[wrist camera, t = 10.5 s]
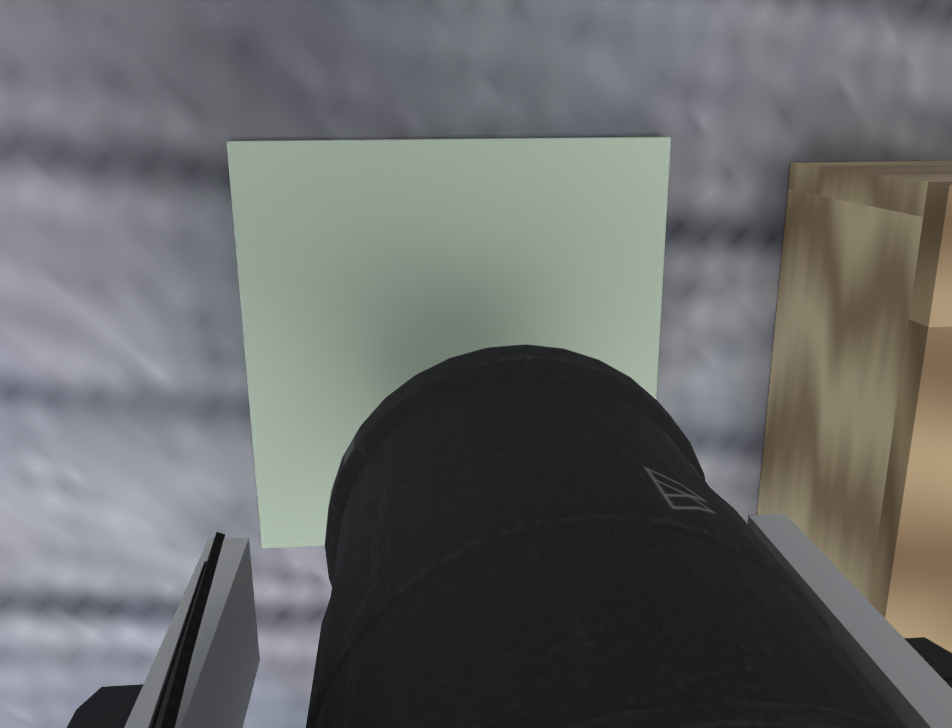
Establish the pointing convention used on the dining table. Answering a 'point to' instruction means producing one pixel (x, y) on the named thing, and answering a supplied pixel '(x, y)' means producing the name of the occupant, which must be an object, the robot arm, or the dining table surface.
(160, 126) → the dining table surface
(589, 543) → the black shaker bottle
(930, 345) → the crate
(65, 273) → the dining table surface
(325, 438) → the board
